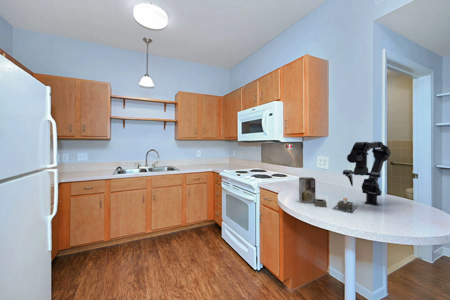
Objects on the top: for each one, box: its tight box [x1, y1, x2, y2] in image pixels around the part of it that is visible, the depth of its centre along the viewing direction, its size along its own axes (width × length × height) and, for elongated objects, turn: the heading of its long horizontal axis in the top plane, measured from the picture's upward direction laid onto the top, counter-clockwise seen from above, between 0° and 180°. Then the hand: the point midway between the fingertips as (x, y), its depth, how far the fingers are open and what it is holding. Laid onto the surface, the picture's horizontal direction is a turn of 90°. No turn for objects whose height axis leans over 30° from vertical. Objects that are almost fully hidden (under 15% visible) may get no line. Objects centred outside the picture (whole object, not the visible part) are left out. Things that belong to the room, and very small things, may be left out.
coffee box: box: [298, 176, 316, 204], centre depth 130 cm, size 9×6×16 cm
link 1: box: [313, 198, 328, 208], centre depth 122 cm, size 6×6×3 cm
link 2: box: [337, 200, 354, 210], centre depth 116 cm, size 6×6×3 cm
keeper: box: [332, 197, 358, 214], centre depth 116 cm, size 14×10×6 cm
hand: (360, 187), depth 119 cm, fingers open, 9 cm apart
